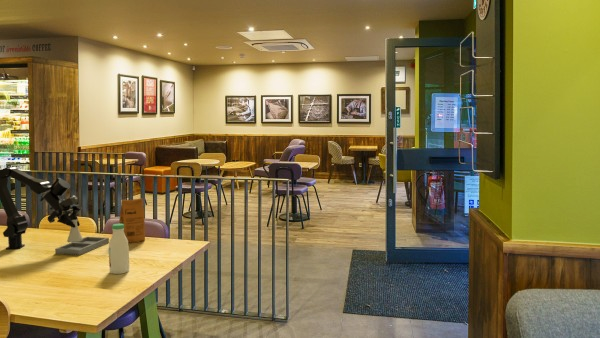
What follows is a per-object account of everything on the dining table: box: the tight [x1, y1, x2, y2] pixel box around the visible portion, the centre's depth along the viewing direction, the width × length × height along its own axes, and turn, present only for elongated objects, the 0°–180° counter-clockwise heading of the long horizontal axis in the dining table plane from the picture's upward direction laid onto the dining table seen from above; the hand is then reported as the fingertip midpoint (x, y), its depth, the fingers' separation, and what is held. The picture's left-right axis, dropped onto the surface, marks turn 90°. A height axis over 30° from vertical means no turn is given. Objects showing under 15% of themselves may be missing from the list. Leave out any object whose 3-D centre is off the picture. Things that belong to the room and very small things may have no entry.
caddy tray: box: [54, 236, 110, 256], centre depth 235 cm, size 12×24×2 cm, turn 169°
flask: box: [66, 219, 84, 243], centre depth 229 cm, size 7×7×10 cm
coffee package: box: [118, 197, 146, 244], centre depth 249 cm, size 10×12×22 cm
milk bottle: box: [108, 223, 130, 275], centre depth 199 cm, size 8×8×20 cm
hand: (76, 226), depth 228 cm, fingers closed on flask, 3 cm apart
